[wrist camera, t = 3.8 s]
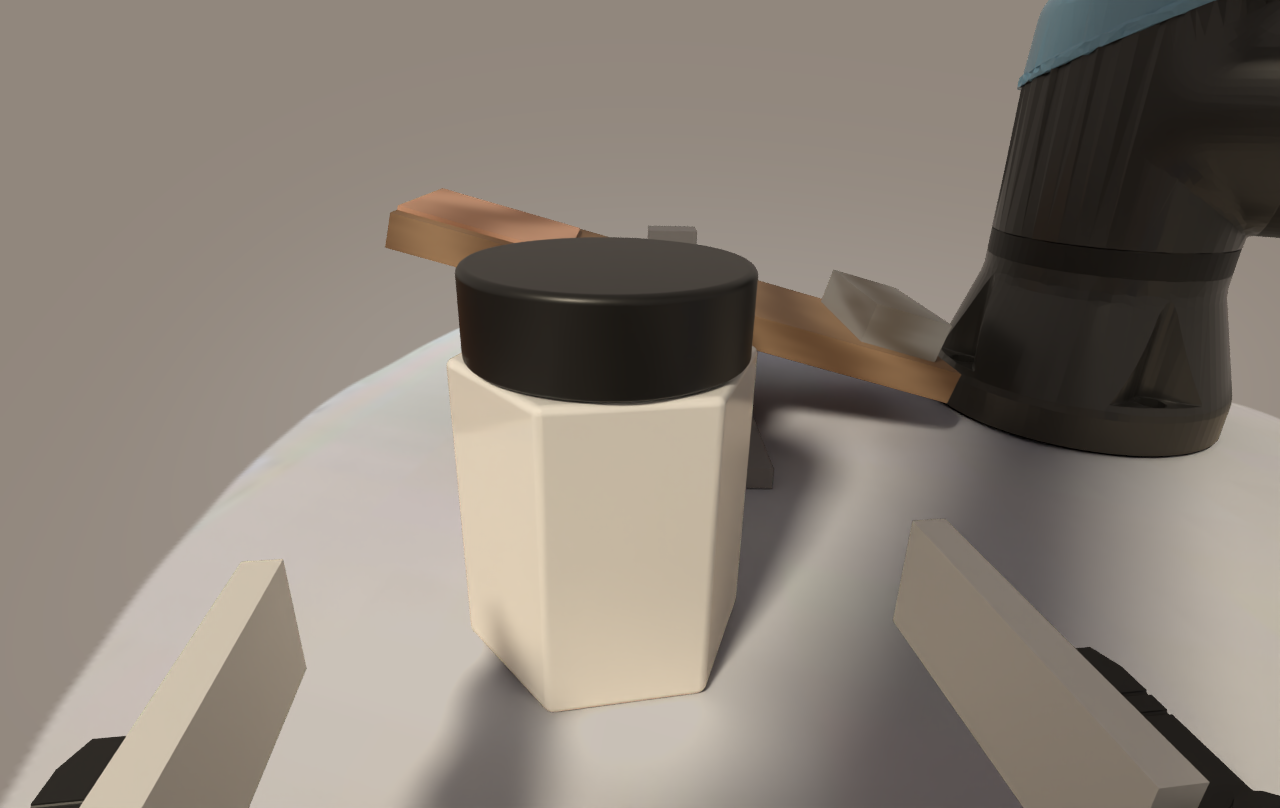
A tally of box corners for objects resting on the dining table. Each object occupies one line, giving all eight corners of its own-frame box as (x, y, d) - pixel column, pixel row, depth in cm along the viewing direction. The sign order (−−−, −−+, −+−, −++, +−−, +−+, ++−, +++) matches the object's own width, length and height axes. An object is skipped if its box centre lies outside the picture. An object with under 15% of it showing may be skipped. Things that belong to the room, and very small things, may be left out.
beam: (872, 338, 45) (896, 283, 44) (958, 418, 33) (995, 346, 32) (447, 217, 42) (458, 153, 41) (373, 258, 30) (385, 169, 29)
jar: (703, 537, 28) (722, 234, 23) (777, 690, 21) (826, 290, 16) (475, 558, 26) (447, 237, 22) (466, 732, 19) (422, 302, 14)
